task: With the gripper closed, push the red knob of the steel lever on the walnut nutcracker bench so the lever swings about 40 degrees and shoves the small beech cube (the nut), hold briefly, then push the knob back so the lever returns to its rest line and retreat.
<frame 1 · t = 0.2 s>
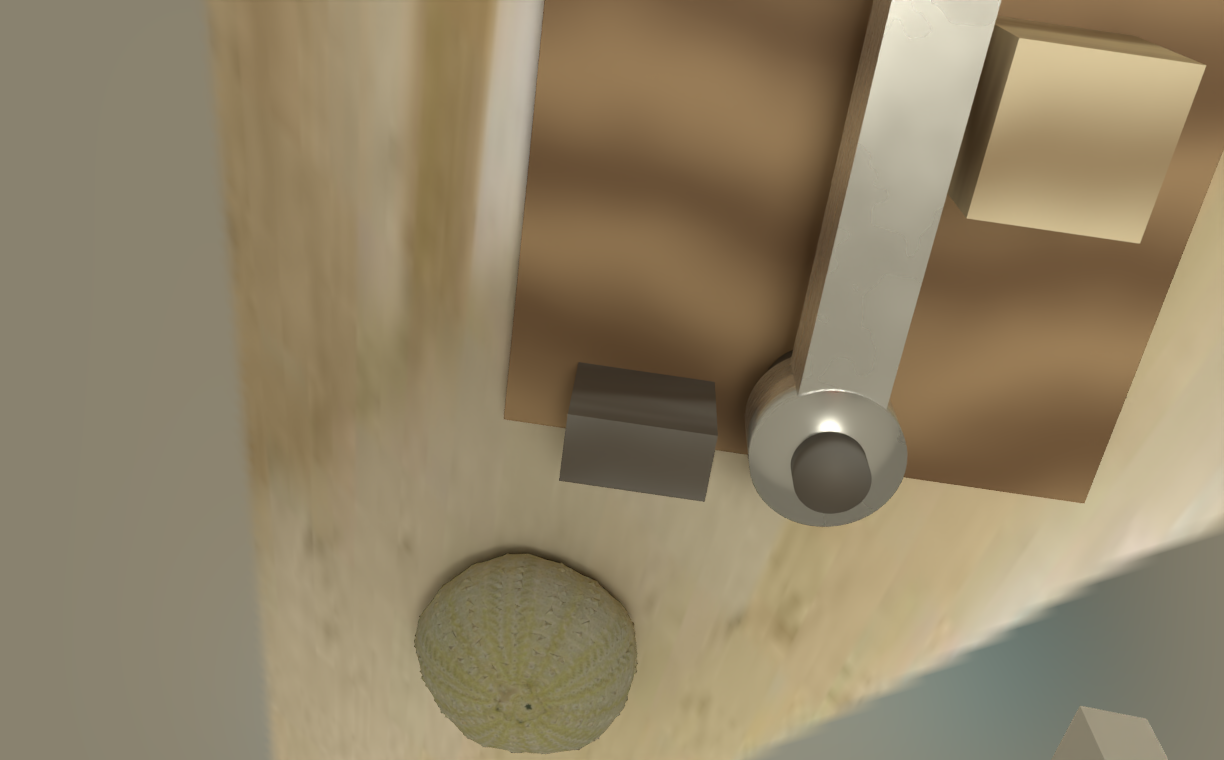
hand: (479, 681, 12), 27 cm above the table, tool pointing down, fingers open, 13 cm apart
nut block: (1029, 105, 34), point 1 cm above the table, touching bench
lever: (899, 240, 29), point 8 cm above the table, hinge at 0.0°
olive rounded piece: (534, 623, 47), on the table
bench: (843, 220, 37), on the table
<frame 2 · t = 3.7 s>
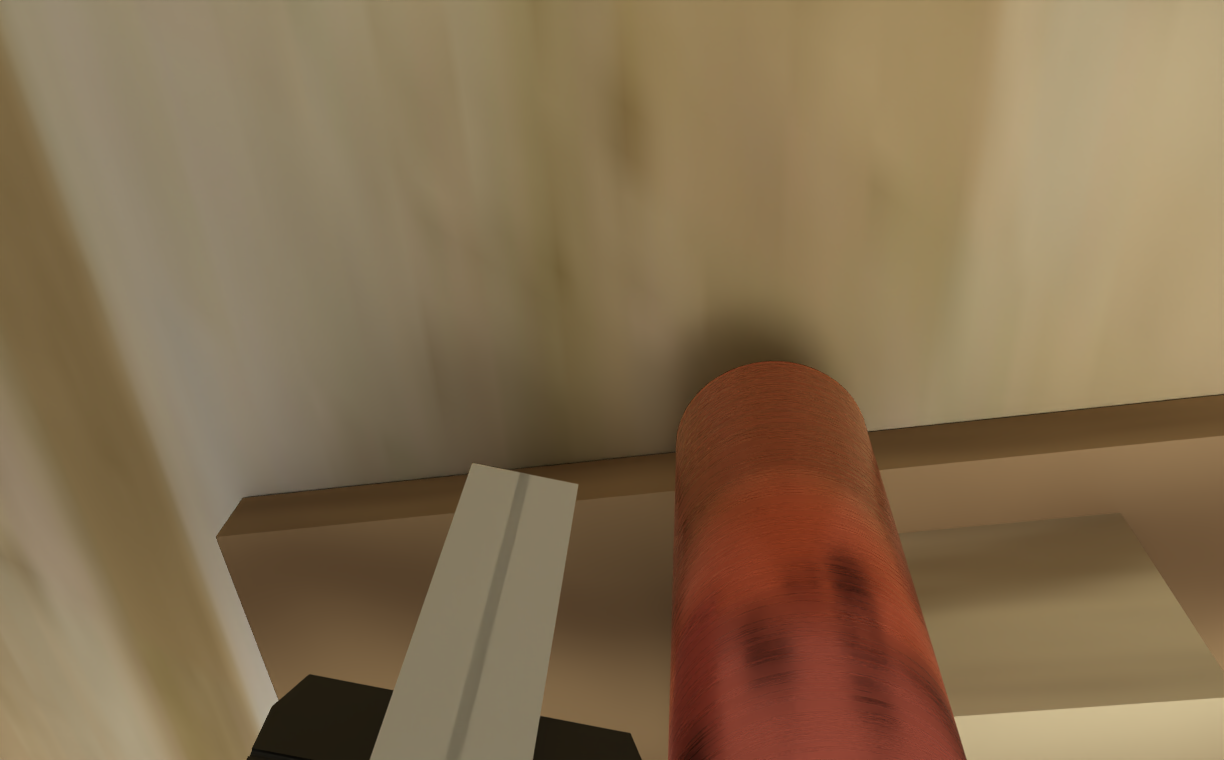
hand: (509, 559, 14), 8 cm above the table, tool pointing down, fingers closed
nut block: (987, 626, 22), point 1 cm above the table, touching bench
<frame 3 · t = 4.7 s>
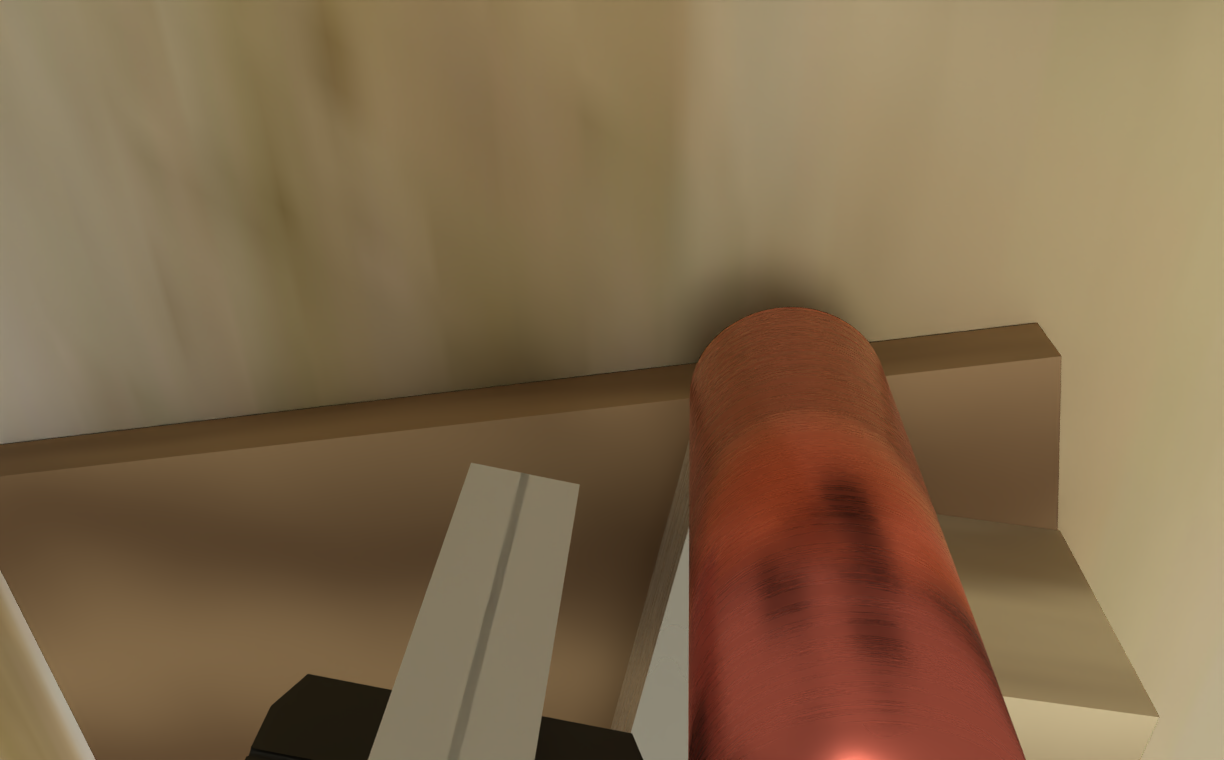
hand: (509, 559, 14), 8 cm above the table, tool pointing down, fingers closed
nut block: (902, 614, 22), point 2 cm above the table, touching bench, lever
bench: (562, 716, 26), on the table
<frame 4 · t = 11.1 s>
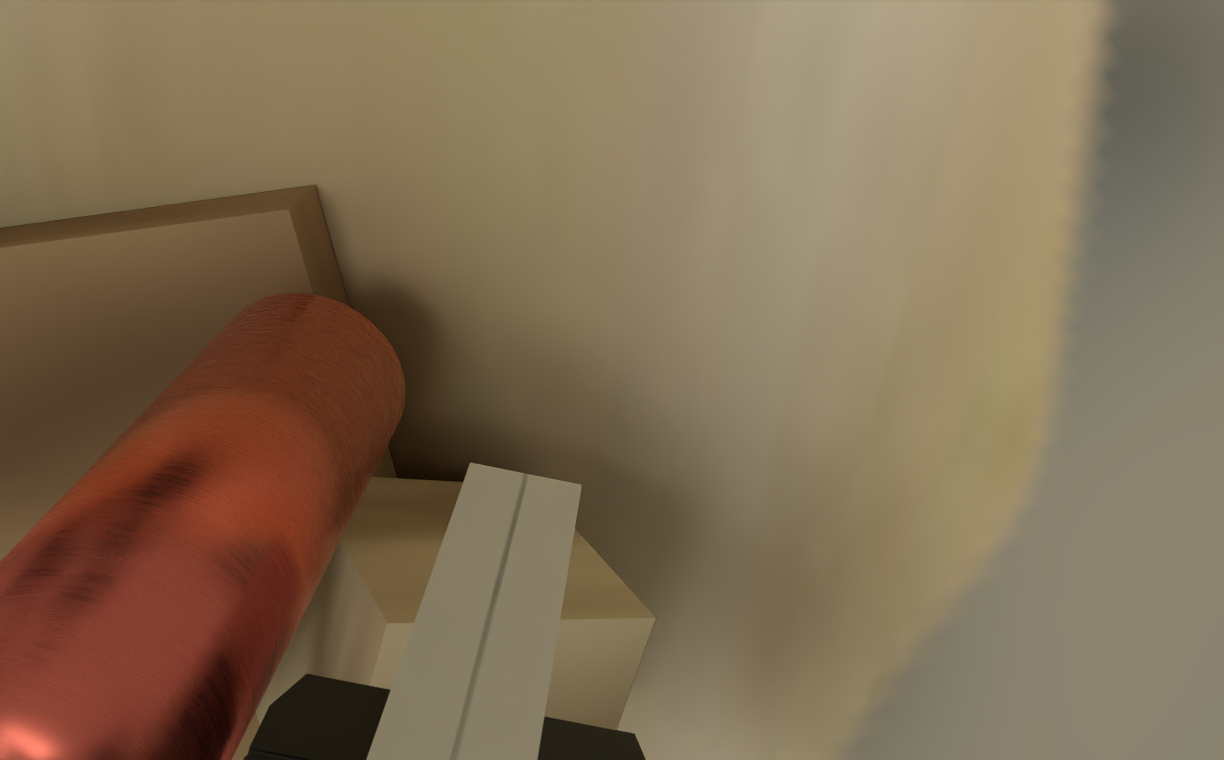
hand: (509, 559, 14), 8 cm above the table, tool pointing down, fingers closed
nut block: (398, 588, 22), point 2 cm above the table, tilted 32°, touching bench
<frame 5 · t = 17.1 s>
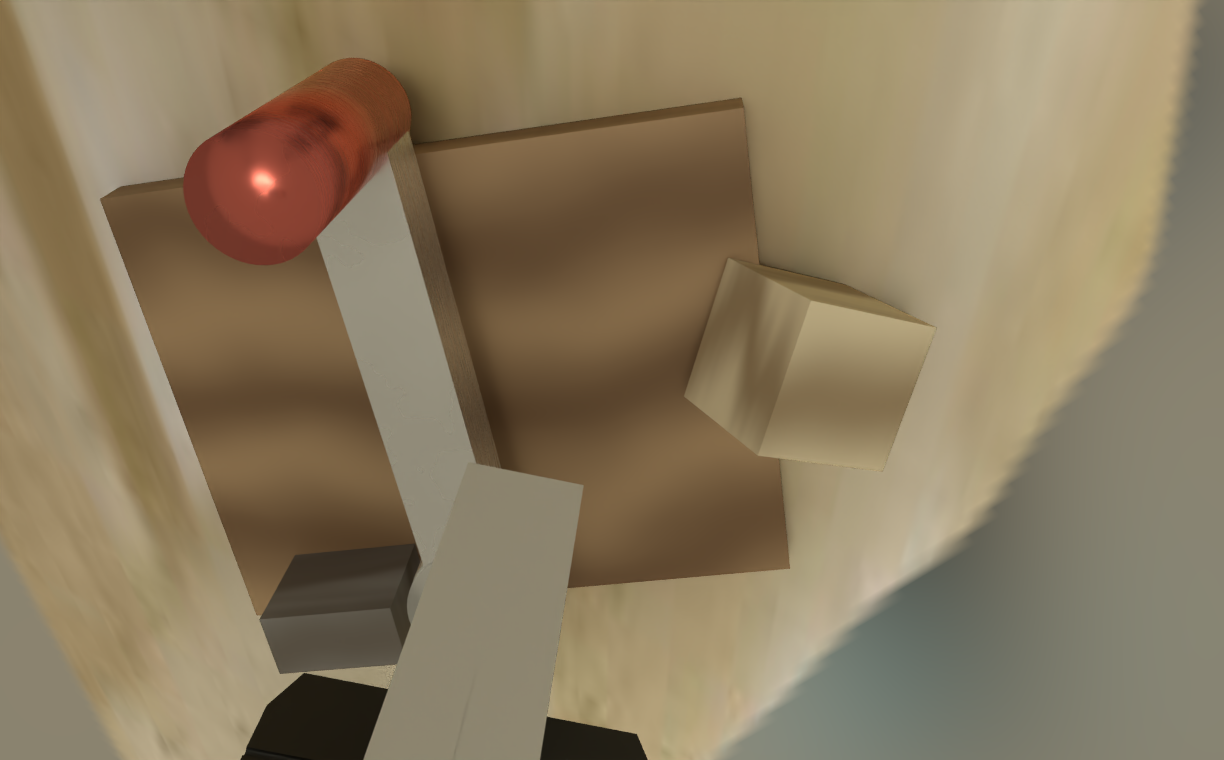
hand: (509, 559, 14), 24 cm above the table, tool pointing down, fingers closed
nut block: (765, 339, 37), point 2 cm above the table, tilted 27°, touching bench
lever: (404, 436, 32), point 8 cm above the table, hinge at -2.0°
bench: (474, 377, 40), on the table
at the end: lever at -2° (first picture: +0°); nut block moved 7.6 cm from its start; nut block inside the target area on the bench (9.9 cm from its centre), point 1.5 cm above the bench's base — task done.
